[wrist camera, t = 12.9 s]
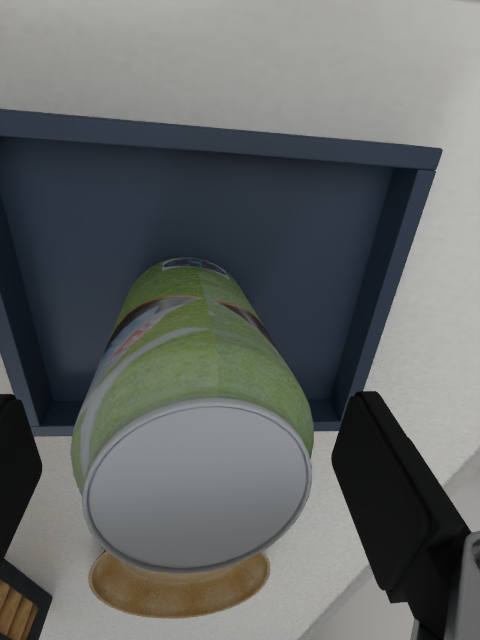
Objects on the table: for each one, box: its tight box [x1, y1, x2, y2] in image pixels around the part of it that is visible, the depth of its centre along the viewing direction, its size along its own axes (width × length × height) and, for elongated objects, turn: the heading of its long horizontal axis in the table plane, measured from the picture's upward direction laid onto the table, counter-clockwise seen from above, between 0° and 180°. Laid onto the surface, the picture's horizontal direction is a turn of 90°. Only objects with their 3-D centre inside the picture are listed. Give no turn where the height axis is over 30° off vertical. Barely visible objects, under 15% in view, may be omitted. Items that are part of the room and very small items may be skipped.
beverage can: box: [71, 257, 314, 574], centre depth 13 cm, size 6×7×12 cm
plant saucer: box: [88, 550, 270, 619], centre depth 29 cm, size 15×15×3 cm
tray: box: [0, 109, 442, 437], centre depth 17 cm, size 16×19×3 cm
